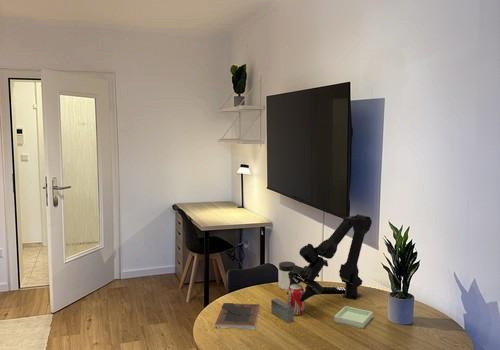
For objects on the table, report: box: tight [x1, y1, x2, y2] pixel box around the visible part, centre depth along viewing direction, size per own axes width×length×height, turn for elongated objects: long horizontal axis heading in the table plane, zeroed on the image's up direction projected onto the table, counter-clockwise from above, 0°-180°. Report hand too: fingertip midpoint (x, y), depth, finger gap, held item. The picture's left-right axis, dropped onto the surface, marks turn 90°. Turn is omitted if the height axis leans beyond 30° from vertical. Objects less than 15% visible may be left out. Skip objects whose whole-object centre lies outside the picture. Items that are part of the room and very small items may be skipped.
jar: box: [277, 261, 296, 291], centre depth 231 cm, size 9×8×12 cm
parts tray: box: [333, 305, 374, 330], centre depth 193 cm, size 12×12×2 cm
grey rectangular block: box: [270, 297, 295, 323], centre depth 197 cm, size 3×12×6 cm, turn 32°
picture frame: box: [214, 302, 261, 331], centre depth 198 cm, size 16×2×22 cm
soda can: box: [287, 283, 305, 316], centre depth 201 cm, size 7×7×12 cm
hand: (294, 297), depth 200 cm, fingers open, 9 cm apart
